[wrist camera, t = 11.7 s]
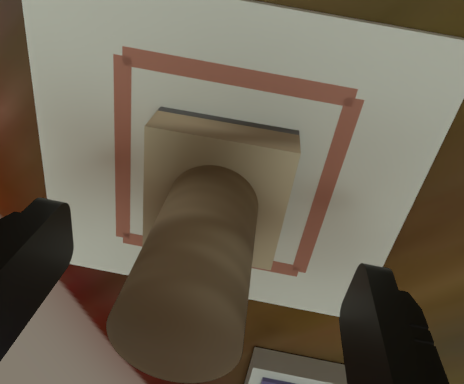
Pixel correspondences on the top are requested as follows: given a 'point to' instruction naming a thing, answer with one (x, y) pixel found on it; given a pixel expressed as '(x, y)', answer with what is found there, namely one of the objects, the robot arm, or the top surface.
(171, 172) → the stamp
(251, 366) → the ink pad
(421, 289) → the top surface
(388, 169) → the sheet
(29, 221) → the robot arm
